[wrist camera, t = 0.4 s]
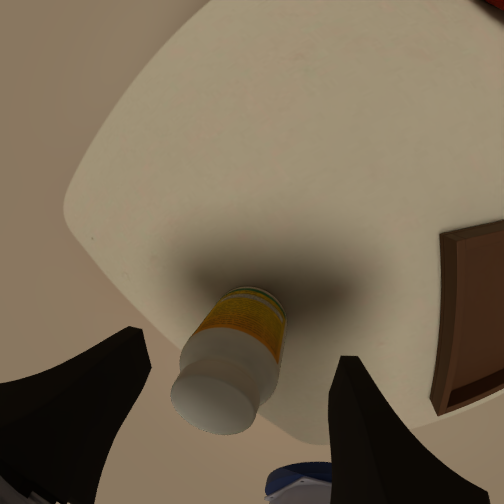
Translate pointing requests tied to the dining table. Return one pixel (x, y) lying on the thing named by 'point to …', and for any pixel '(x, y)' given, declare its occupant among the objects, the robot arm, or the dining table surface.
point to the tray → (470, 317)
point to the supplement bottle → (231, 362)
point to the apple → (497, 3)
